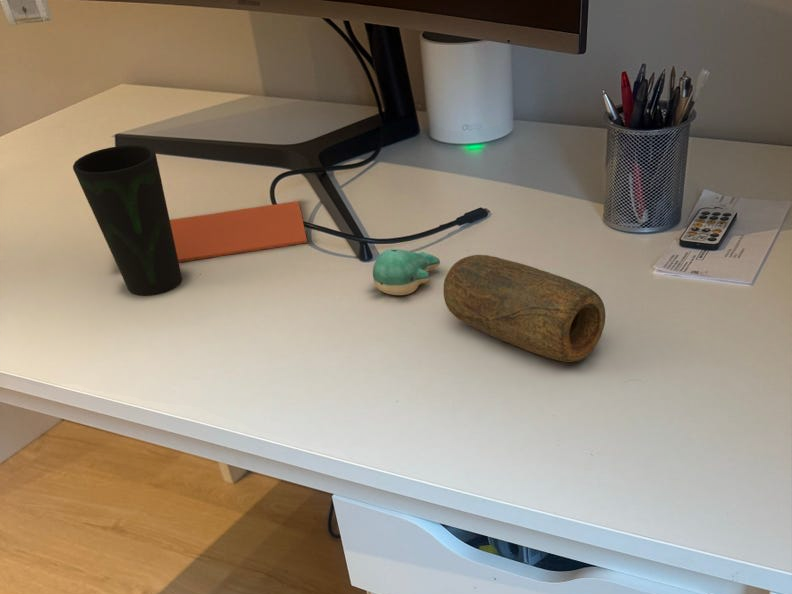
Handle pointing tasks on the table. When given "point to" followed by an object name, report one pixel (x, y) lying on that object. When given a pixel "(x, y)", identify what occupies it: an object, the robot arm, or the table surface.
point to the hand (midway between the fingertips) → (31, 21)
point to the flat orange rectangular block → (238, 231)
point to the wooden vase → (525, 306)
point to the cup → (132, 215)
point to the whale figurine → (402, 270)
